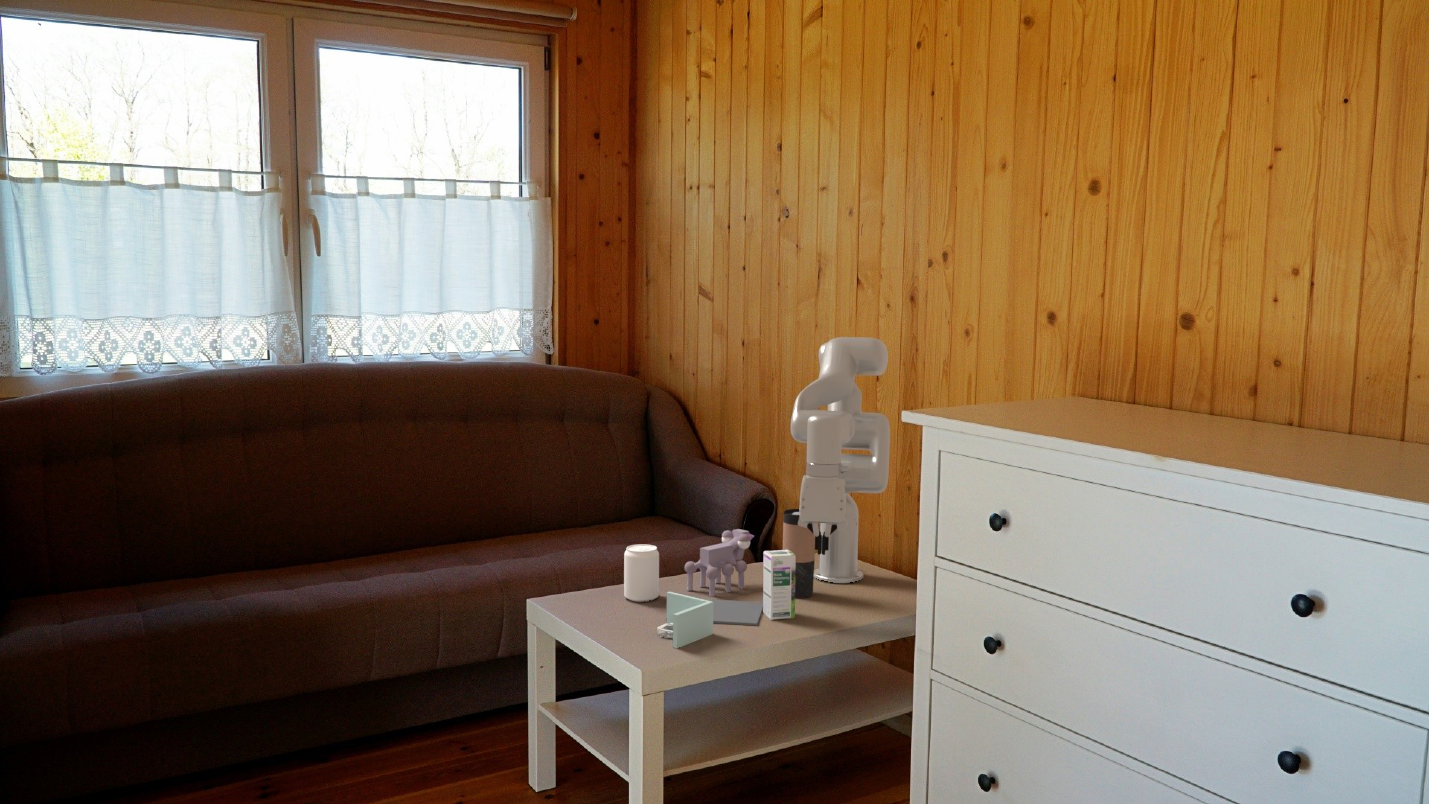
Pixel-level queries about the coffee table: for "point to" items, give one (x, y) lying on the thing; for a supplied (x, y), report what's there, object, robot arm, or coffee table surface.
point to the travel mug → (800, 552)
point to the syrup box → (779, 584)
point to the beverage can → (641, 572)
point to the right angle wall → (687, 619)
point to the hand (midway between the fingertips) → (821, 553)
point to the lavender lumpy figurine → (721, 561)
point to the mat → (736, 612)
